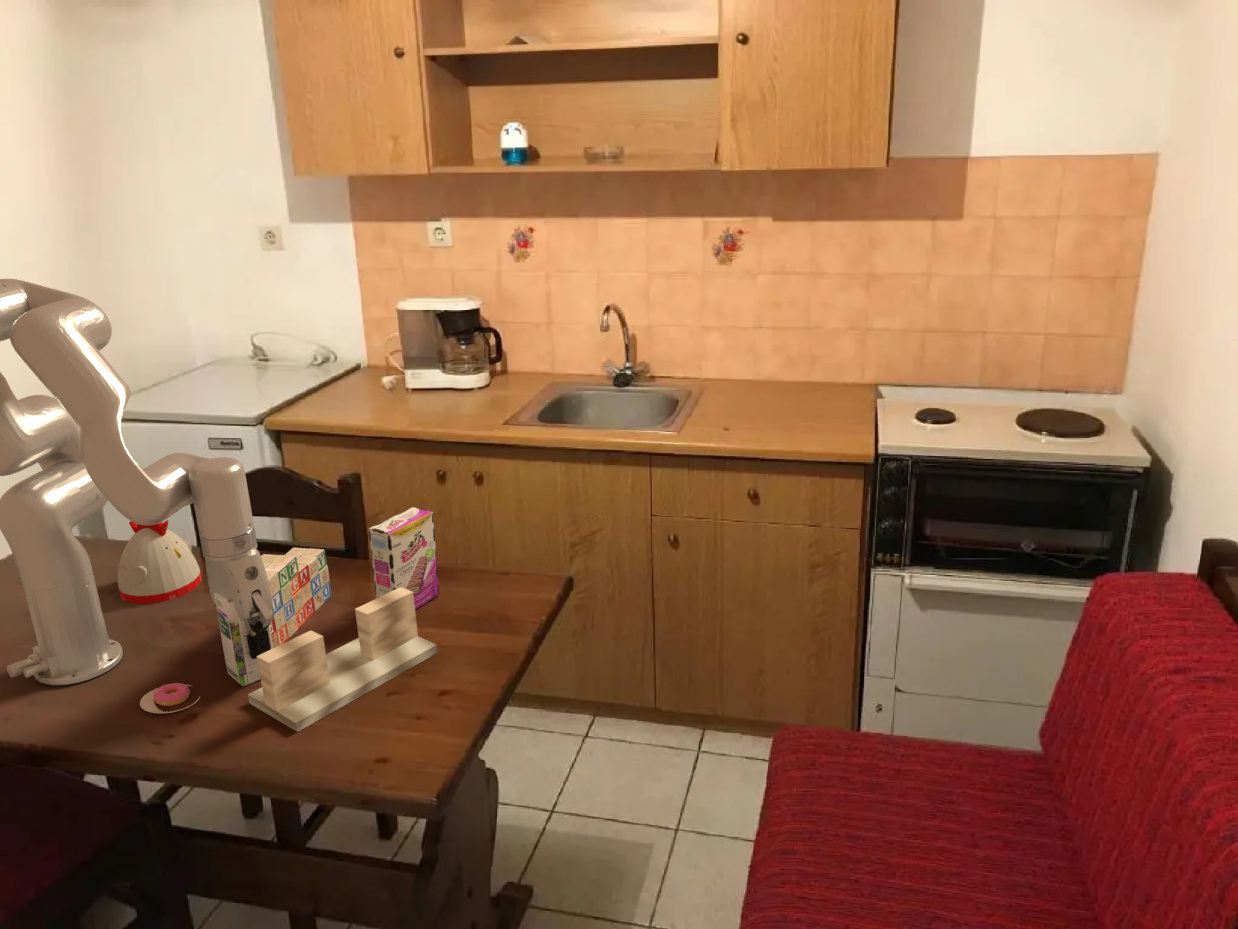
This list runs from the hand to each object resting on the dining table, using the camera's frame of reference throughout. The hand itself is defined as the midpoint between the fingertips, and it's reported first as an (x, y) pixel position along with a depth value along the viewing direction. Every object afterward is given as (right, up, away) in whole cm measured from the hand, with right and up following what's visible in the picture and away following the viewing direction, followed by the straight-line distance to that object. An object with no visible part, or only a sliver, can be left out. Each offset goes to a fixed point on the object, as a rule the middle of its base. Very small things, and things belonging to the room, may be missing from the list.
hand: (248, 647), depth 151 cm
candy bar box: (+20, +3, +21) cm, 30 cm away
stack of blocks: (0, +1, +16) cm, 16 cm away
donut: (-10, -8, -6) cm, 14 cm away
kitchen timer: (-28, +5, +31) cm, 42 cm away
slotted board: (+15, -5, 0) cm, 16 cm away
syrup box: (0, -5, +2) cm, 5 cm away
